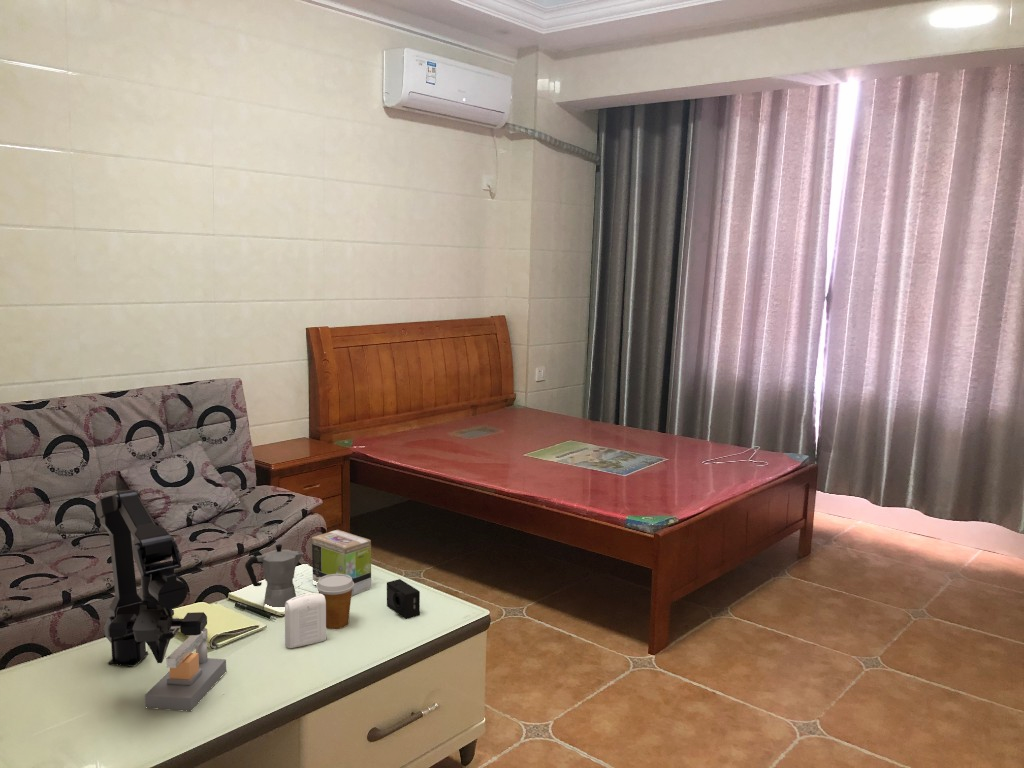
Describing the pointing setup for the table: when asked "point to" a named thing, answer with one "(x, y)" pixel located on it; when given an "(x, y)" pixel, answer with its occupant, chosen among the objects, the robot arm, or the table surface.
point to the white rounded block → (305, 620)
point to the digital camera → (403, 599)
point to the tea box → (343, 558)
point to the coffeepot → (276, 574)
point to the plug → (185, 671)
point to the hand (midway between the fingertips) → (160, 662)
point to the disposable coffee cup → (336, 598)
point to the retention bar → (185, 649)
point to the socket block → (187, 694)
